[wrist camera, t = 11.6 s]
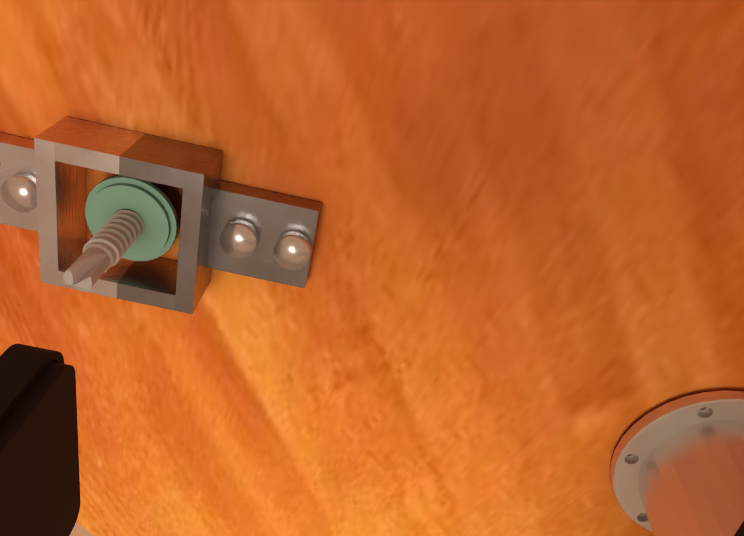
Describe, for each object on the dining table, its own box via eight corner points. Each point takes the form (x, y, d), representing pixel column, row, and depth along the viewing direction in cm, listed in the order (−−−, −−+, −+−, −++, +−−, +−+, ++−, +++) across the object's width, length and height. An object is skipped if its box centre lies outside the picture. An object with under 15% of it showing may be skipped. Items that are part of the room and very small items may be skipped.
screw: (85, 177, 39) (163, 151, 38) (128, 252, 41) (203, 230, 40) (-3, 253, 31) (92, 222, 30) (56, 341, 33) (147, 316, 32)
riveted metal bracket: (327, 173, 37) (317, 199, 34) (303, 302, 42) (293, 335, 39) (-41, 93, 37) (-83, 112, 34) (-27, 232, 41) (-64, 260, 38)
